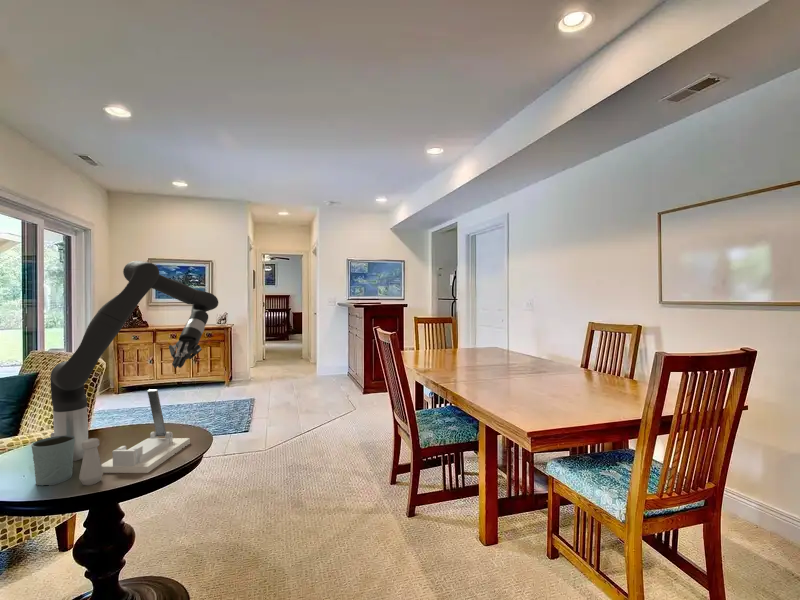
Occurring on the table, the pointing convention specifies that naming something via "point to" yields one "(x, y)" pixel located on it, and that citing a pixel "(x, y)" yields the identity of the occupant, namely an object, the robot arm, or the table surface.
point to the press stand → (144, 454)
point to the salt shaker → (90, 463)
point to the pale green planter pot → (53, 459)
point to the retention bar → (156, 412)
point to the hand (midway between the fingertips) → (176, 366)
